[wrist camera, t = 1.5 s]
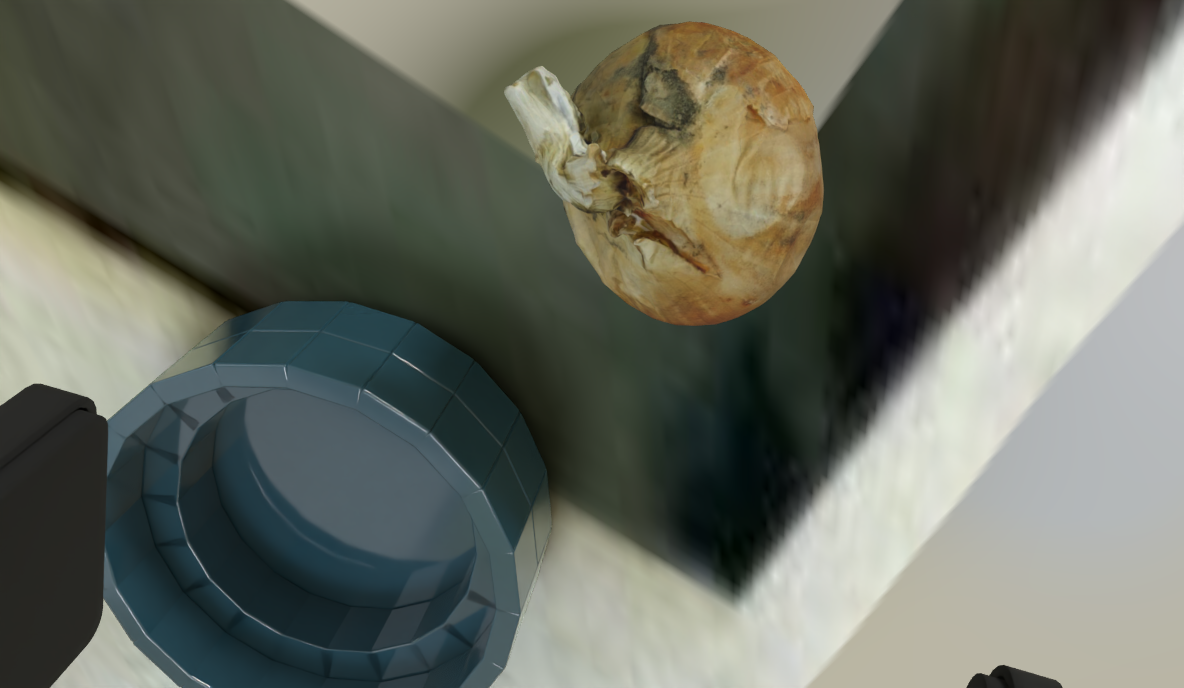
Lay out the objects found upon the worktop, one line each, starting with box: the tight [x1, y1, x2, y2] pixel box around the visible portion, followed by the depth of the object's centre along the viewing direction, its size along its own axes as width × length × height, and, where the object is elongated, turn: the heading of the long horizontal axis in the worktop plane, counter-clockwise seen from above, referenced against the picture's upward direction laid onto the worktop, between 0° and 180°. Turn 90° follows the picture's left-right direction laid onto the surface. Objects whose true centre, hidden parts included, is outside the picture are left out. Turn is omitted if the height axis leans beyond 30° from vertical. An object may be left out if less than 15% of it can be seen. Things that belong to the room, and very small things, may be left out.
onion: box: [504, 22, 824, 326], centre depth 28 cm, size 8×8×8 cm
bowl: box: [103, 301, 552, 688], centre depth 36 cm, size 15×15×6 cm
